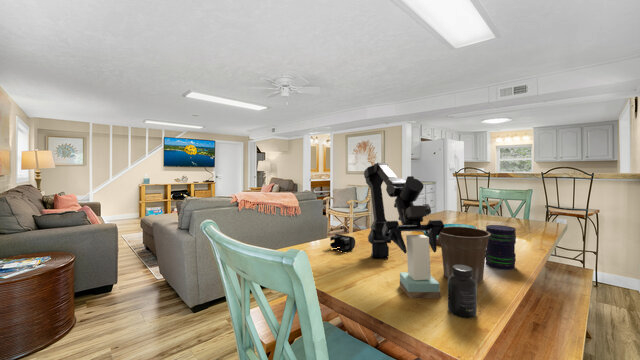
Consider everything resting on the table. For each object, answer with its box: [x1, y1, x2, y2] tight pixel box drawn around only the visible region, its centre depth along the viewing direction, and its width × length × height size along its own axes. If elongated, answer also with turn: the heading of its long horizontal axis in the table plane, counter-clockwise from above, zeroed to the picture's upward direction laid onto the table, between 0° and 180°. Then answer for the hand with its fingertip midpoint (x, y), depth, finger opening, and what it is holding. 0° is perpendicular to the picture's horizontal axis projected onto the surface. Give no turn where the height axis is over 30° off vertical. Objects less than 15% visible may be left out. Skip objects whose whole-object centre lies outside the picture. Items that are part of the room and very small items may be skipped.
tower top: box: [399, 271, 440, 292], centre depth 86 cm, size 9×9×2 cm
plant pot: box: [439, 226, 490, 284], centre depth 97 cm, size 16×16×16 cm
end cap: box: [329, 233, 356, 253], centre depth 132 cm, size 10×7×7 cm
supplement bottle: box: [447, 265, 478, 319], centre depth 73 cm, size 7×7×12 cm
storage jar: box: [485, 224, 517, 271], centre depth 108 cm, size 10×10×15 cm
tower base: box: [399, 280, 442, 300], centre depth 86 cm, size 9×9×2 cm
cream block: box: [405, 233, 432, 280], centre depth 86 cm, size 5×5×12 cm
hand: (420, 252), depth 85 cm, fingers open, 9 cm apart
